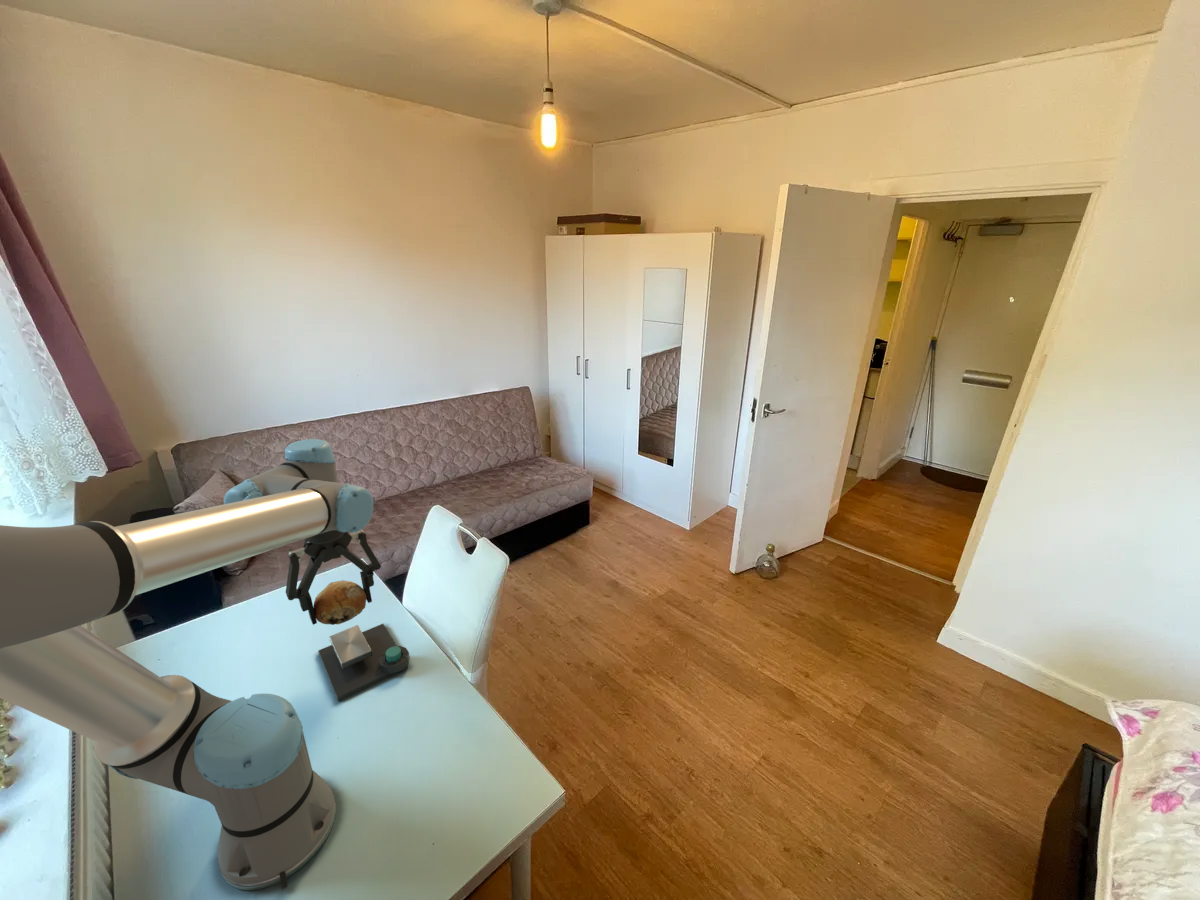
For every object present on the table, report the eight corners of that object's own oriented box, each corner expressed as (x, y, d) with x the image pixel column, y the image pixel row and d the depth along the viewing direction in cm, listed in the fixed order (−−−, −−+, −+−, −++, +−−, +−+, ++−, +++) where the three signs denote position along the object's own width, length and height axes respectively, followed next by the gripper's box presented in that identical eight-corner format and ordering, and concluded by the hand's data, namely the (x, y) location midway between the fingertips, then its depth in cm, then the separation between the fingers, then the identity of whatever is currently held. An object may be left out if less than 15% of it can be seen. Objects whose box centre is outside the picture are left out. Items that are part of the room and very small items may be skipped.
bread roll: (374, 615, 107) (378, 578, 107) (346, 629, 97) (350, 588, 97) (331, 611, 108) (335, 575, 108) (299, 625, 97) (304, 584, 98)
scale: (414, 668, 106) (412, 658, 105) (339, 705, 97) (336, 694, 96) (387, 625, 118) (386, 615, 117) (319, 654, 109) (316, 644, 108)
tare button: (403, 658, 105) (402, 652, 105) (389, 665, 103) (388, 658, 103) (398, 650, 107) (397, 644, 107) (384, 656, 106) (383, 650, 105)
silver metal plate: (372, 655, 105) (371, 650, 105) (342, 669, 102) (341, 663, 101) (358, 629, 112) (357, 624, 112) (330, 641, 109) (329, 636, 108)
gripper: (376, 494, 104) (390, 580, 112) (250, 527, 90) (276, 622, 99) (388, 507, 99) (402, 597, 107) (256, 545, 85) (283, 644, 93)
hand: (341, 609), depth 103 cm, fingers closed on bread roll, 10 cm apart
